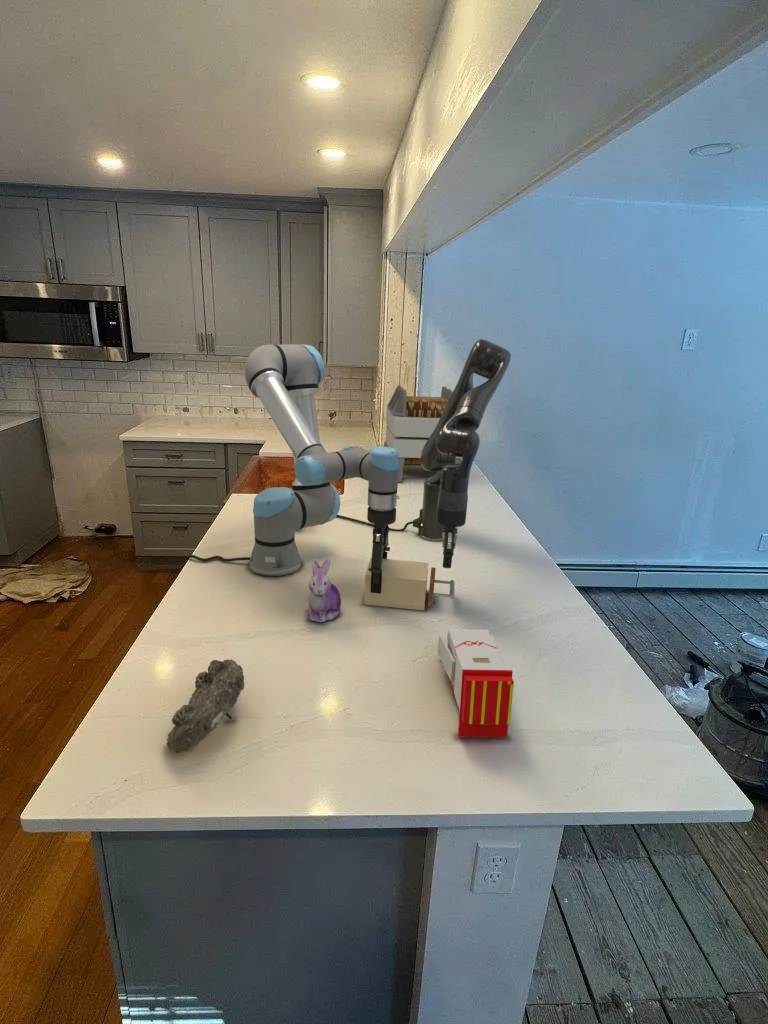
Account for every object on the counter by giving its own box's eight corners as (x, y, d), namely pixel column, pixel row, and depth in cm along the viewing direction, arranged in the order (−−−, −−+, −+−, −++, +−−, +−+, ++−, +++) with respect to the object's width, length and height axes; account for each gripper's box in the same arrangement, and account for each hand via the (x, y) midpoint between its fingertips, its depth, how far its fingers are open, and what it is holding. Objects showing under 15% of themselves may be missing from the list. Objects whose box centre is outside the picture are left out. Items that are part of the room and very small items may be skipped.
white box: (382, 463, 289) (386, 382, 275) (445, 464, 293) (451, 384, 279) (390, 482, 257) (394, 392, 243) (460, 483, 261) (468, 394, 247)
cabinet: (426, 590, 160) (428, 562, 157) (424, 610, 150) (426, 580, 147) (369, 585, 162) (371, 557, 159) (363, 604, 151) (365, 574, 148)
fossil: (192, 660, 117) (244, 628, 112) (224, 691, 120) (276, 661, 115) (142, 746, 98) (202, 712, 93) (182, 779, 101) (242, 748, 96)
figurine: (314, 627, 139) (314, 572, 134) (300, 608, 148) (299, 555, 143) (349, 619, 143) (350, 565, 138) (333, 601, 152) (334, 550, 147)
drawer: (453, 591, 159) (455, 569, 156) (453, 608, 149) (455, 585, 147) (381, 584, 161) (382, 562, 158) (377, 601, 151) (378, 578, 149)
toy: (488, 613, 130) (523, 677, 101) (484, 667, 133) (517, 744, 104) (435, 612, 130) (455, 676, 101) (432, 666, 133) (451, 743, 103)
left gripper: (391, 523, 136) (387, 604, 143) (400, 494, 158) (396, 565, 166) (360, 521, 137) (358, 601, 144) (373, 492, 159) (371, 563, 166)
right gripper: (467, 515, 139) (461, 579, 144) (466, 498, 151) (460, 558, 157) (436, 513, 139) (431, 576, 145) (438, 496, 152) (433, 555, 158)
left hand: (378, 582), depth 155 cm, fingers closed on cabinet, 11 cm apart
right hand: (446, 566), depth 151 cm, fingers closed
